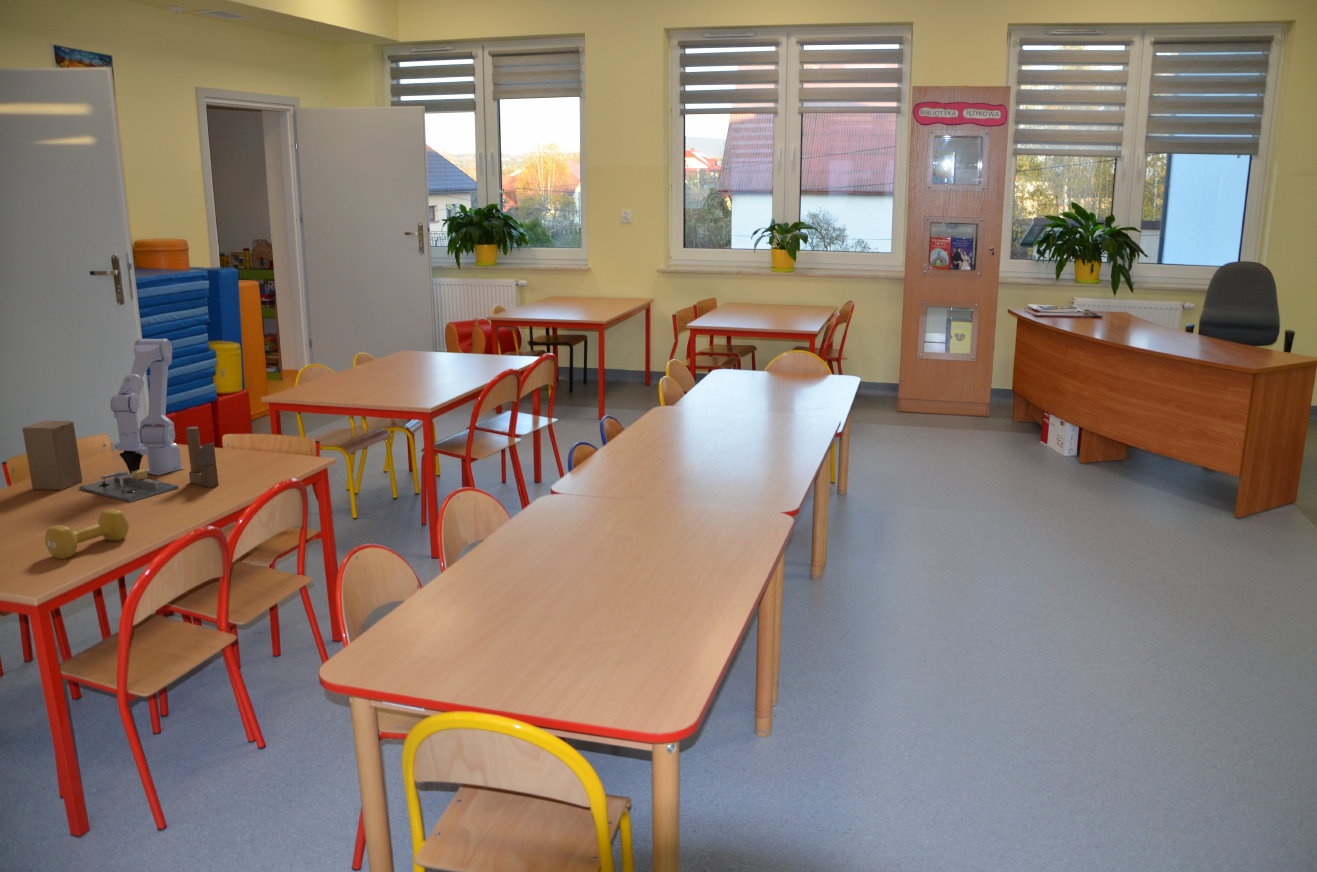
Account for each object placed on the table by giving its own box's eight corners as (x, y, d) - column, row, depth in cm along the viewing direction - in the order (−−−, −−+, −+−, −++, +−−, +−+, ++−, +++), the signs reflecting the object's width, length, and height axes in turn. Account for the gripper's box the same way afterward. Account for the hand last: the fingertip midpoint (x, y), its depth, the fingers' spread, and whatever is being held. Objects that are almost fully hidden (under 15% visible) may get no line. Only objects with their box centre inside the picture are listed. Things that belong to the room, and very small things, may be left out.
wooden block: (83, 481, 311) (74, 420, 306) (61, 490, 301) (51, 428, 296) (54, 480, 312) (44, 420, 307) (31, 489, 302) (21, 427, 297)
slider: (142, 481, 307) (141, 468, 306) (148, 482, 305) (146, 470, 304) (118, 487, 300) (116, 475, 299) (123, 489, 298) (122, 476, 297)
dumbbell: (113, 534, 264) (108, 505, 262) (134, 539, 260) (130, 510, 258) (43, 556, 248) (38, 526, 245) (65, 562, 244) (60, 532, 241)
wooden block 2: (208, 488, 304) (201, 432, 299) (189, 482, 310) (182, 428, 305) (219, 485, 307) (212, 430, 302) (200, 479, 312) (193, 425, 308)
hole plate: (128, 476, 316) (126, 466, 315) (178, 488, 304) (177, 477, 303) (79, 489, 303) (77, 478, 302) (129, 502, 290) (128, 490, 289)
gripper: (102, 431, 302) (108, 473, 305) (130, 437, 295) (136, 480, 298) (124, 427, 308) (130, 468, 311) (152, 432, 301) (157, 474, 304)
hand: (134, 473), depth 305 cm, fingers closed
